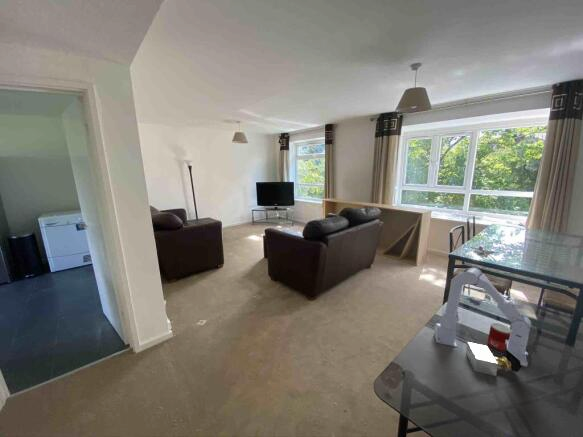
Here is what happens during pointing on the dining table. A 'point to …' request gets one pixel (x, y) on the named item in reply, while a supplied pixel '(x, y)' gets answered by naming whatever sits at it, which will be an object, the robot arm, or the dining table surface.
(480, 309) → the dining table surface
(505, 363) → the brass flanged cylinder
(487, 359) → the housing
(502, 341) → the canned food
